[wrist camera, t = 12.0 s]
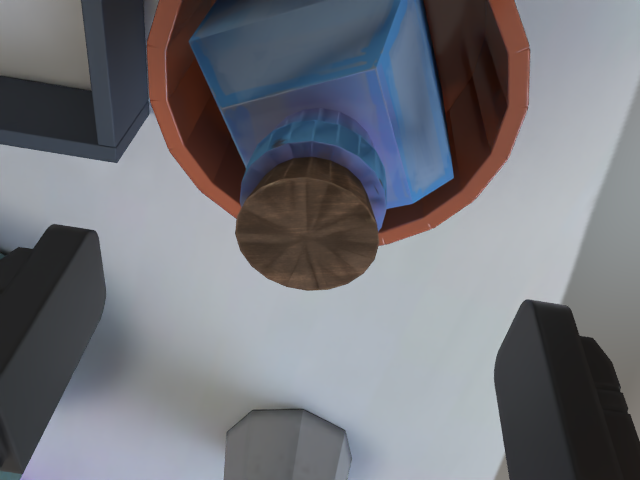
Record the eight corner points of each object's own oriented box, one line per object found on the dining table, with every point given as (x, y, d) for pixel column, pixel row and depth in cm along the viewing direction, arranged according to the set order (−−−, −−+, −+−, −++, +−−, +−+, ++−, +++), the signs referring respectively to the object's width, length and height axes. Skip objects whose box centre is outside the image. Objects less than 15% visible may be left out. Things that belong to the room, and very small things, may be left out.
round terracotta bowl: (201, -175, 20) (135, -147, 15) (545, -117, 20) (596, -69, 15) (200, 130, 27) (154, 220, 22) (452, 172, 27) (465, 271, 22)
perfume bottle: (291, 126, 25) (232, 349, 16) (233, -25, 22) (114, 150, 12) (441, 89, 24) (472, 314, 14) (406, -81, 20) (416, 72, 11)
